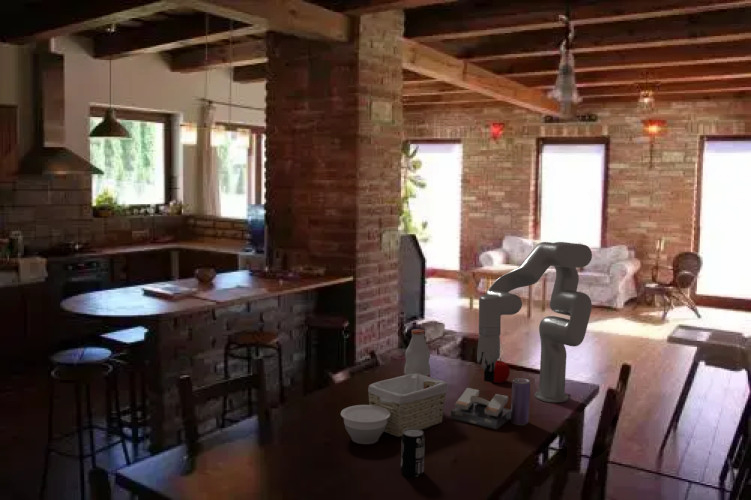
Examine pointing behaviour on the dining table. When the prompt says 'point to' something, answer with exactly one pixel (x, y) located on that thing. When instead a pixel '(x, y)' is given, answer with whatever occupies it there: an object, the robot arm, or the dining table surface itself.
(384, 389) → the storage basket
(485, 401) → the rocker
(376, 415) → the bowl
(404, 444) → the beverage can
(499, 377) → the fruit
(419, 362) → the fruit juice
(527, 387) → the beverage can
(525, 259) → the robot arm
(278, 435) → the dining table surface
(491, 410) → the rocker
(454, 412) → the switch unit
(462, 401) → the rocker
